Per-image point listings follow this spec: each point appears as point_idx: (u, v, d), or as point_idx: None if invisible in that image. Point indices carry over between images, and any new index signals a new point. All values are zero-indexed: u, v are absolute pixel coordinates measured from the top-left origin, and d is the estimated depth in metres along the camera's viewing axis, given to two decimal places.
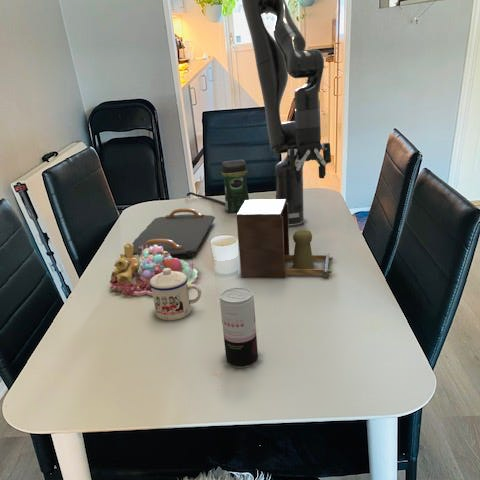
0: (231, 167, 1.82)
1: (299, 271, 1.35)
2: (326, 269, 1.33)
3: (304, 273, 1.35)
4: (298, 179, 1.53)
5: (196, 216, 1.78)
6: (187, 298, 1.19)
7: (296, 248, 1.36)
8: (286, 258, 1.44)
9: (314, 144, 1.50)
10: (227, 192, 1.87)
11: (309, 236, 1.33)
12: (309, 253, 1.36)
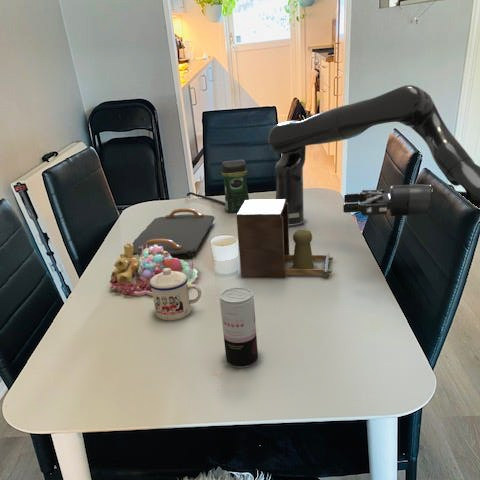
0: (231, 167, 1.82)
1: (299, 271, 1.35)
2: (326, 269, 1.33)
3: (304, 273, 1.35)
4: (348, 211, 1.24)
5: (196, 216, 1.78)
6: (187, 298, 1.19)
7: (296, 248, 1.36)
8: (286, 258, 1.44)
9: None
10: (227, 192, 1.87)
11: (309, 236, 1.33)
12: (309, 253, 1.36)
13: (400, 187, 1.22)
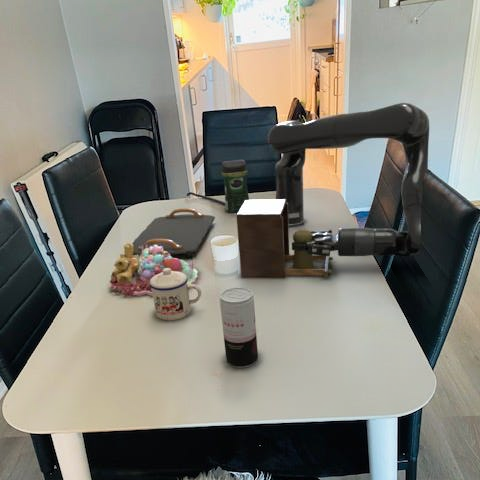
0: (231, 167, 1.82)
1: (299, 271, 1.35)
2: (326, 269, 1.33)
3: (304, 273, 1.35)
4: (296, 249, 1.34)
5: (196, 216, 1.78)
6: (187, 298, 1.19)
7: None
8: (286, 258, 1.44)
9: None
10: (227, 192, 1.87)
11: (309, 236, 1.33)
12: None
13: (347, 230, 1.31)
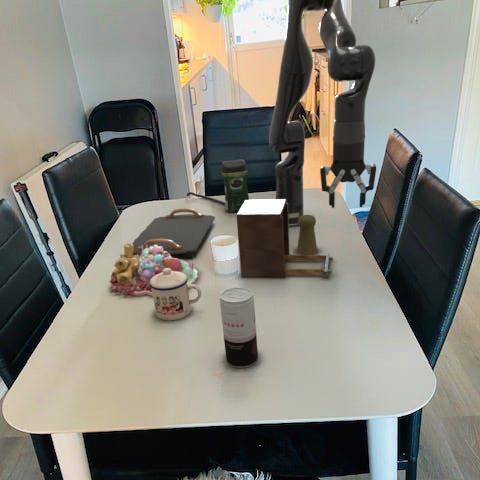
0: (231, 167, 1.82)
1: (299, 271, 1.35)
2: (326, 269, 1.33)
3: (304, 273, 1.35)
4: (331, 203, 1.28)
5: (196, 216, 1.78)
6: (187, 298, 1.19)
7: (301, 232, 1.47)
8: (286, 258, 1.44)
9: (354, 163, 1.22)
10: (227, 192, 1.87)
11: (313, 220, 1.44)
12: (313, 236, 1.47)
13: None
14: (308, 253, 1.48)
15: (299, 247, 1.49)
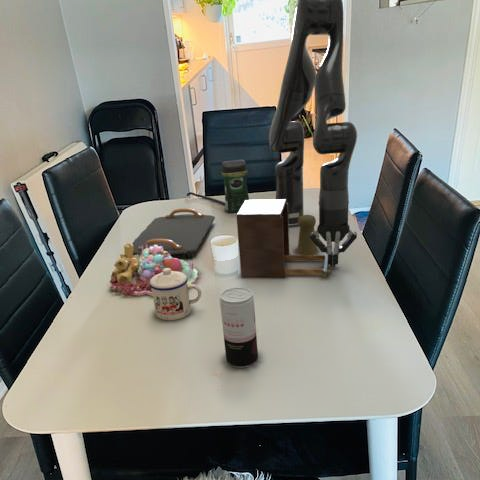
0: (231, 167, 1.82)
1: (298, 271, 1.35)
2: (325, 269, 1.33)
3: (303, 273, 1.35)
4: (330, 262, 1.36)
5: (196, 216, 1.78)
6: (187, 298, 1.19)
7: (301, 232, 1.47)
8: (285, 258, 1.44)
9: (338, 226, 1.31)
10: (227, 192, 1.87)
11: (313, 220, 1.44)
12: None
13: None
14: (308, 253, 1.48)
15: (299, 247, 1.49)
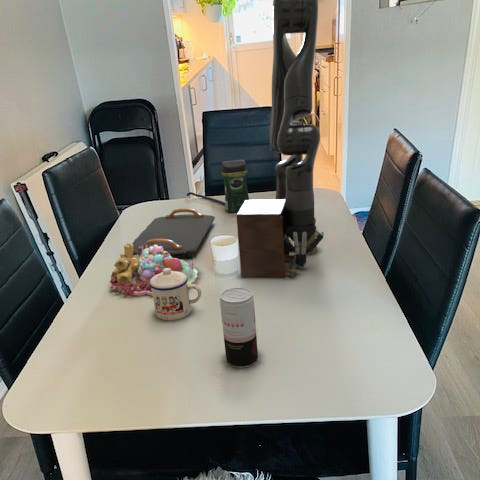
0: (231, 167, 1.82)
1: None
2: (292, 269, 1.35)
3: None
4: (298, 262, 1.38)
5: (196, 216, 1.78)
6: (187, 298, 1.19)
7: None
8: None
9: (305, 226, 1.32)
10: (227, 192, 1.87)
11: None
12: (313, 236, 1.47)
13: None
14: (308, 253, 1.48)
15: None
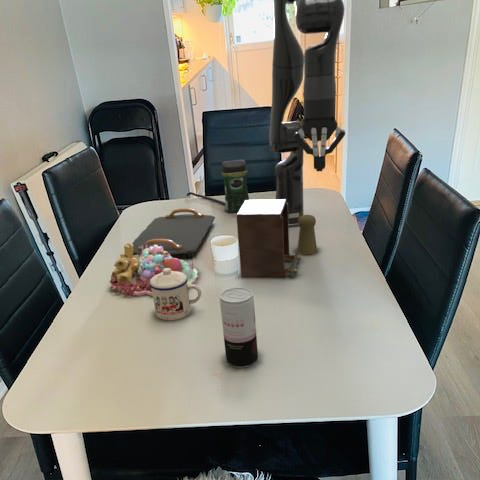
0: (231, 167, 1.82)
1: None
2: (292, 269, 1.35)
3: None
4: (316, 166, 1.24)
5: (196, 216, 1.78)
6: (187, 298, 1.19)
7: (301, 232, 1.47)
8: None
9: (325, 121, 1.18)
10: (227, 192, 1.87)
11: (313, 220, 1.44)
12: (313, 236, 1.47)
13: None
14: (308, 253, 1.48)
15: (299, 247, 1.49)
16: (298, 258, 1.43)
